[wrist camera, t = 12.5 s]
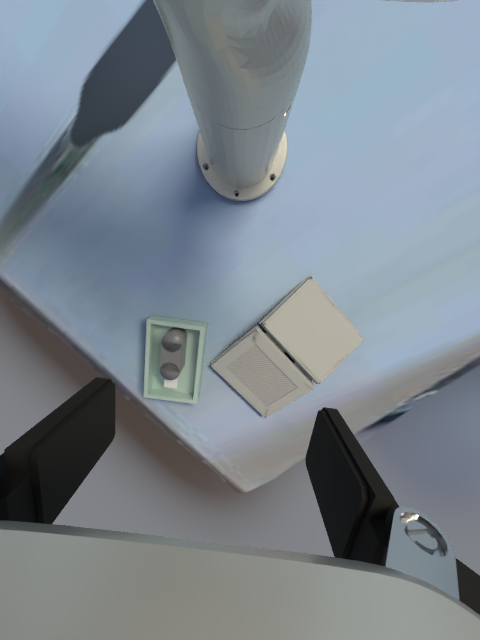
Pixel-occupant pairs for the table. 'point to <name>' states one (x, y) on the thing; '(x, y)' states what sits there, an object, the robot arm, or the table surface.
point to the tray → (193, 361)
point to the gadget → (289, 349)
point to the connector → (173, 356)
